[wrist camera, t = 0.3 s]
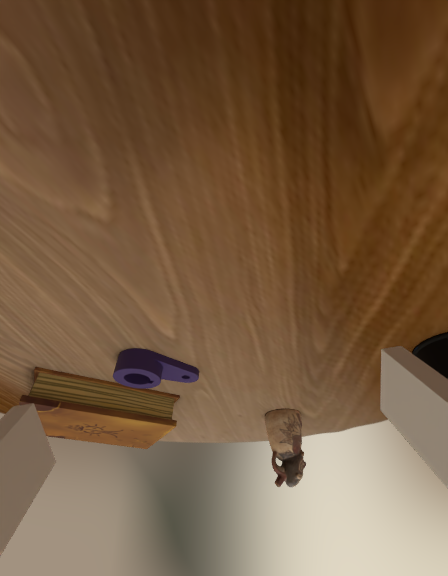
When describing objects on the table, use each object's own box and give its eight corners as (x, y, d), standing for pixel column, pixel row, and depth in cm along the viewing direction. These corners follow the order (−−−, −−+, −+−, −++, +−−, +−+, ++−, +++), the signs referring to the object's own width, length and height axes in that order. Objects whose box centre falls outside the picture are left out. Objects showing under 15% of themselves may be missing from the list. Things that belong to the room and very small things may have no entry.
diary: (36, 402, 56) (22, 434, 52) (37, 362, 43) (18, 401, 40) (151, 421, 63) (145, 451, 60) (180, 393, 51) (175, 427, 47)
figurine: (292, 421, 60) (301, 491, 52) (260, 418, 59) (264, 489, 51) (306, 410, 55) (319, 485, 47) (271, 407, 54) (278, 483, 46)
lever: (114, 361, 42) (108, 382, 40) (125, 342, 38) (119, 364, 36) (189, 379, 46) (187, 399, 44) (207, 363, 42) (205, 384, 40)
